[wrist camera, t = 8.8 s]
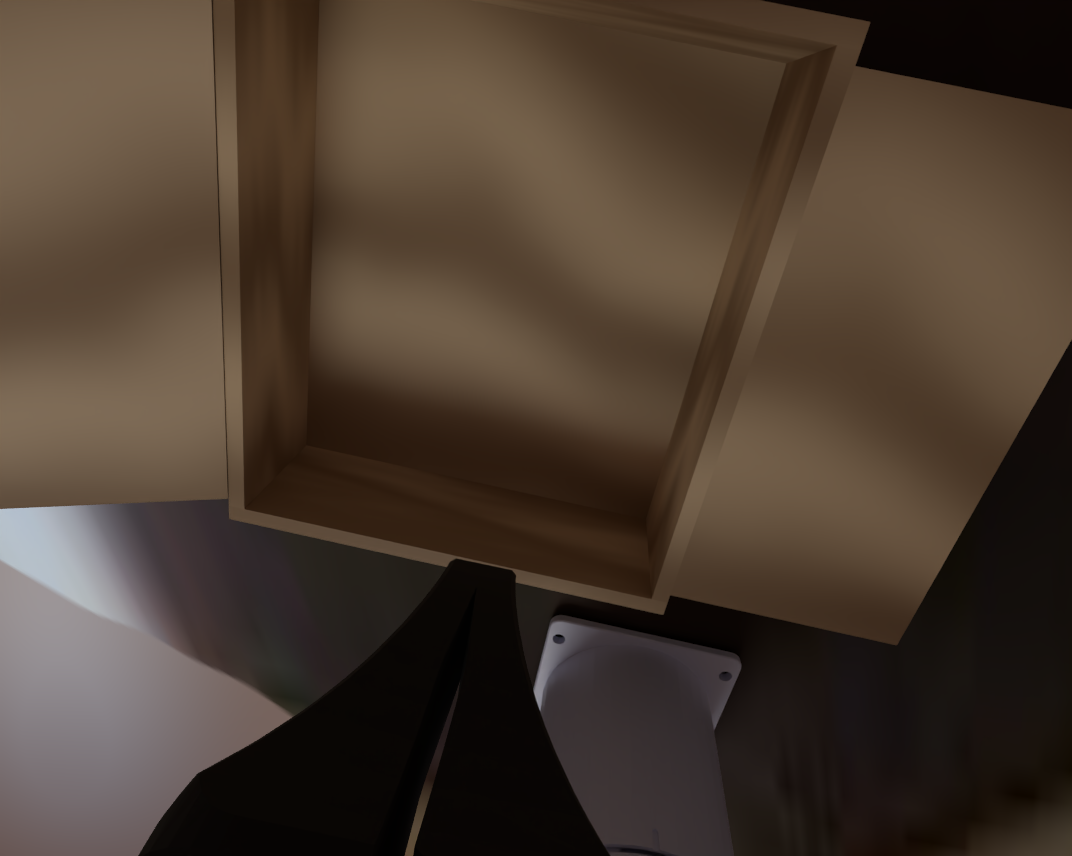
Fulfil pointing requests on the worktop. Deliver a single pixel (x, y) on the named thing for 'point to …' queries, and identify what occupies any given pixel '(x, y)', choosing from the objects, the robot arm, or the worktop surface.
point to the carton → (629, 295)
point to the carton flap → (110, 254)
